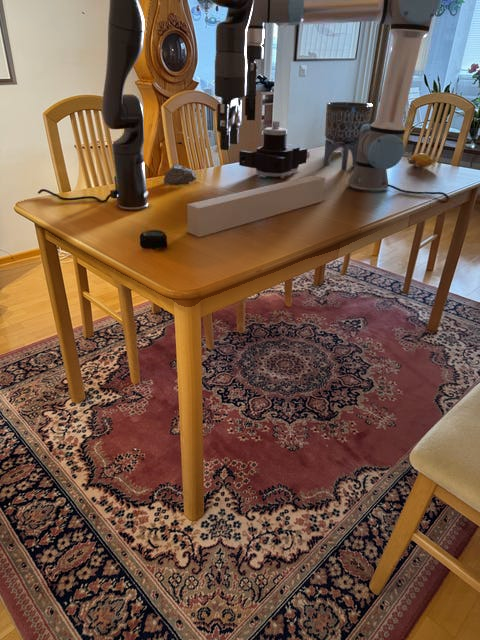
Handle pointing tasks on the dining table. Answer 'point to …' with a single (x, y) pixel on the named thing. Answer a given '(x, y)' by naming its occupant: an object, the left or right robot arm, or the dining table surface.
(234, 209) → the bar
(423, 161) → the toy
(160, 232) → the tape measure
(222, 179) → the dining table surface
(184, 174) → the rock
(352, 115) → the planter
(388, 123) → the right robot arm
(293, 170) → the mechanical component
